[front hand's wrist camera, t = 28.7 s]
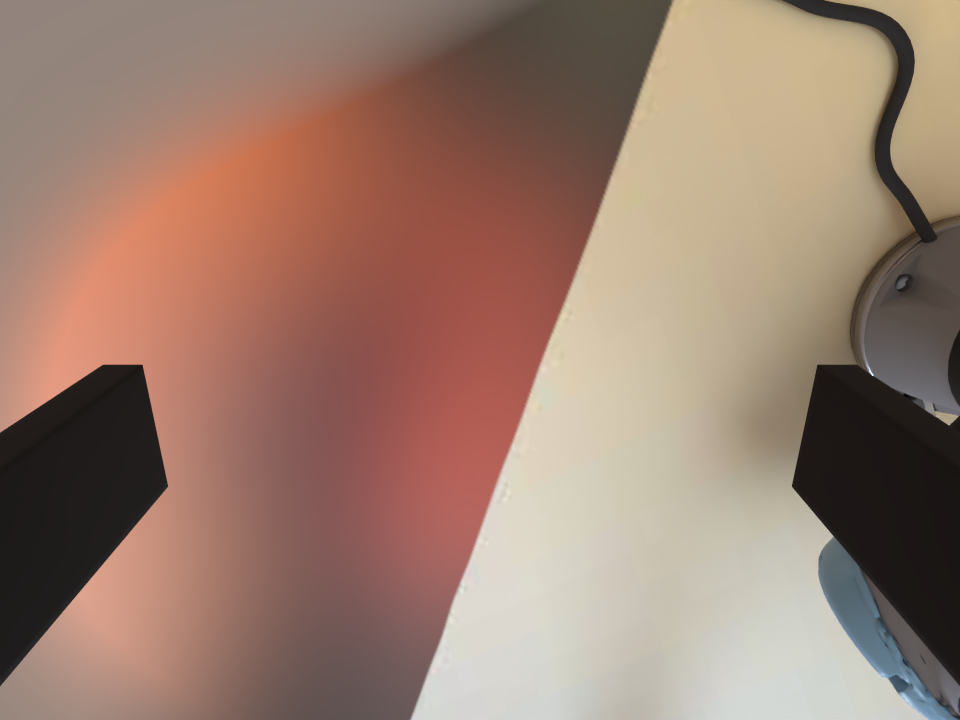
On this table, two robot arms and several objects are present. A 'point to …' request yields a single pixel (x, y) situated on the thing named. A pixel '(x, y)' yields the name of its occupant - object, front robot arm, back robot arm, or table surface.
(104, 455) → the front robot arm
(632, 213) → the table surface
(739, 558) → the table surface
